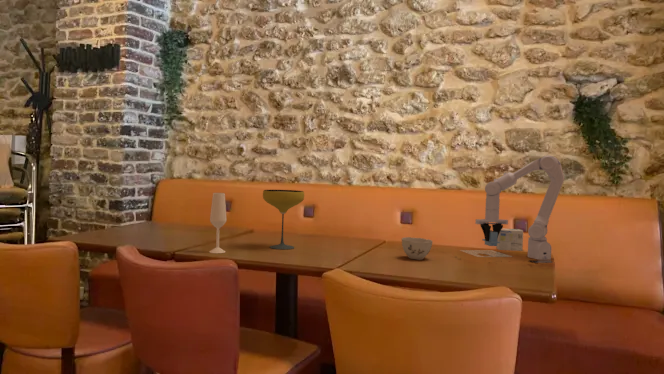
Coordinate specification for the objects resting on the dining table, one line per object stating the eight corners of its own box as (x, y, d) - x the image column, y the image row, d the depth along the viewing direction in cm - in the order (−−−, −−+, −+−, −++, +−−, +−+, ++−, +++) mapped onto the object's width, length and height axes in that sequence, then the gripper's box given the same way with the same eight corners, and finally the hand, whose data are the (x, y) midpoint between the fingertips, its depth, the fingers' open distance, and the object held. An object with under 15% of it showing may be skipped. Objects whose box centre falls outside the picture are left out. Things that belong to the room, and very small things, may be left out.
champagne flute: (227, 250, 222) (229, 193, 221) (223, 253, 216) (224, 193, 215) (212, 250, 223) (213, 192, 222) (206, 252, 216) (208, 193, 215)
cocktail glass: (256, 245, 241) (257, 189, 240) (293, 243, 248) (295, 189, 247) (268, 251, 224) (270, 191, 223) (308, 250, 232) (310, 192, 231)
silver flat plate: (513, 260, 224) (513, 256, 224) (477, 260, 220) (478, 256, 220) (491, 253, 240) (492, 250, 240) (459, 253, 237) (459, 250, 237)
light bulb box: (519, 252, 248) (520, 228, 247) (522, 254, 241) (524, 230, 241) (495, 250, 249) (496, 227, 249) (498, 253, 242) (499, 229, 242)
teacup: (427, 262, 212) (427, 242, 211) (396, 259, 217) (397, 239, 217) (436, 257, 225) (437, 238, 225) (407, 254, 231) (408, 235, 230)
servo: (499, 246, 230) (500, 231, 230) (492, 246, 229) (493, 231, 229) (488, 243, 239) (489, 229, 238) (482, 243, 238) (482, 229, 238)
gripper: (502, 209, 239) (501, 239, 239) (472, 208, 236) (471, 239, 236) (511, 210, 232) (509, 241, 233) (480, 210, 229) (479, 241, 229)
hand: (491, 240), depth 234 cm, fingers closed on servo, 3 cm apart
